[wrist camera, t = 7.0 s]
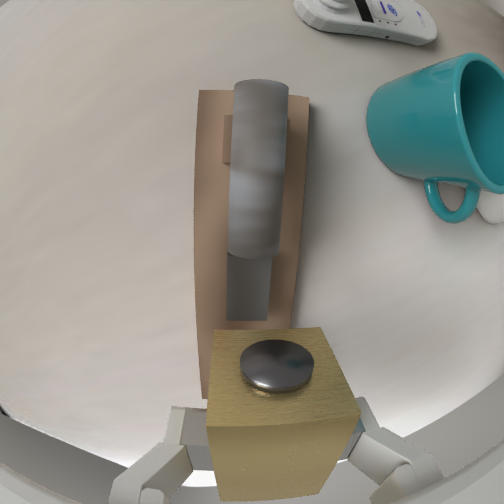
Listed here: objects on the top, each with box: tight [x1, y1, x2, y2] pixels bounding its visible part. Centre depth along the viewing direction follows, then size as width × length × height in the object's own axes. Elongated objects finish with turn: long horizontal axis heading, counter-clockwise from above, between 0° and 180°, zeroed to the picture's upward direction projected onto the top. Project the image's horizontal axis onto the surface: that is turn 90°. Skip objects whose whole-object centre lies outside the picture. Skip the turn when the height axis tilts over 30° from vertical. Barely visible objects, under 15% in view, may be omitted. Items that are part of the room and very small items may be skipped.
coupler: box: [206, 327, 362, 501], centre depth 8 cm, size 4×6×4 cm, turn 179°
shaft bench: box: [194, 79, 309, 399], centre depth 19 cm, size 8×28×8 cm, turn 177°
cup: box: [366, 53, 504, 224], centre depth 15 cm, size 9×12×11 cm
